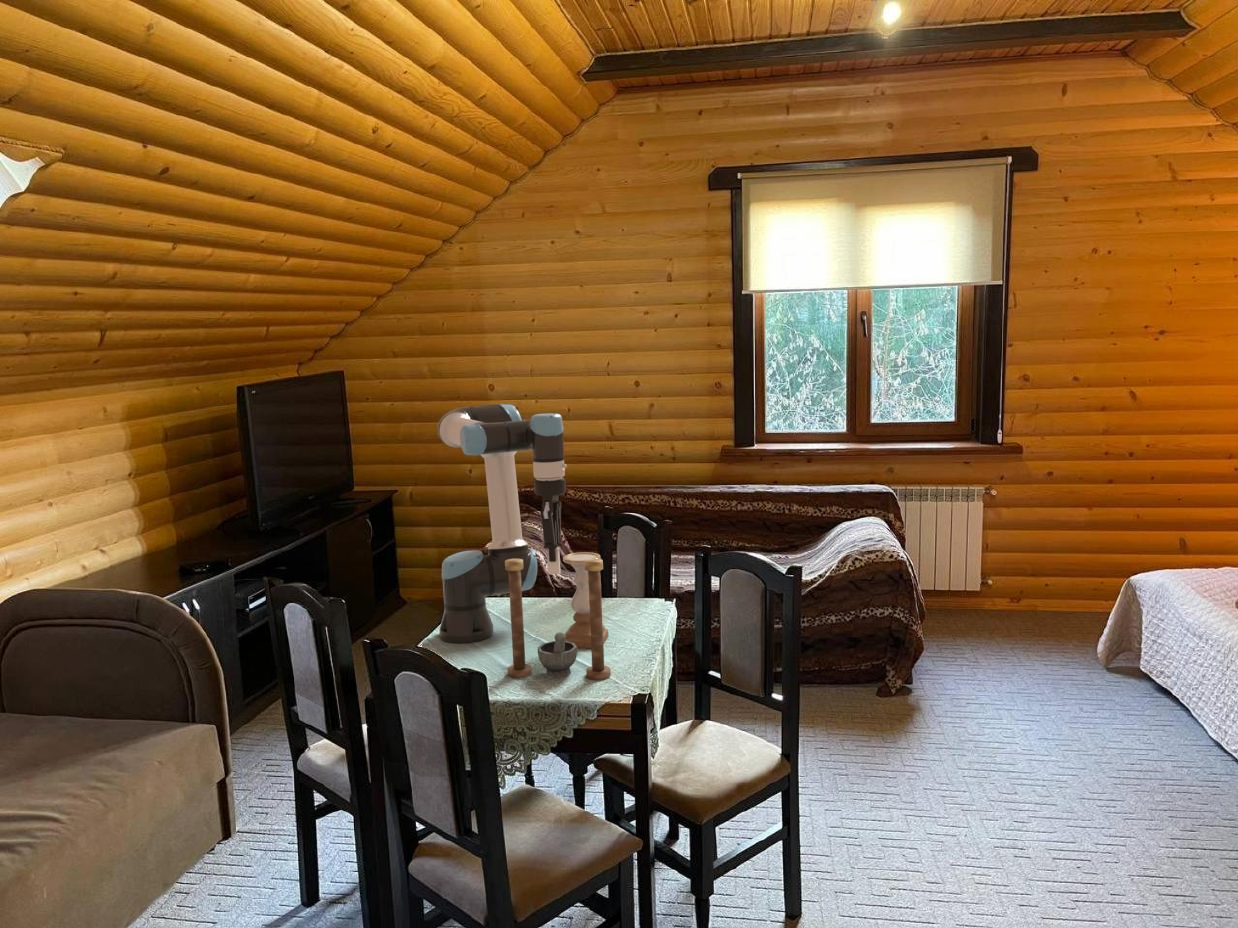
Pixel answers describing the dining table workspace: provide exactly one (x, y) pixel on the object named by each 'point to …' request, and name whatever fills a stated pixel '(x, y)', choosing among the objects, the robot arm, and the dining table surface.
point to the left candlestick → (517, 620)
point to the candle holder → (581, 602)
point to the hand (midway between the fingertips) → (554, 573)
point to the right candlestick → (596, 621)
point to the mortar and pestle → (557, 656)
